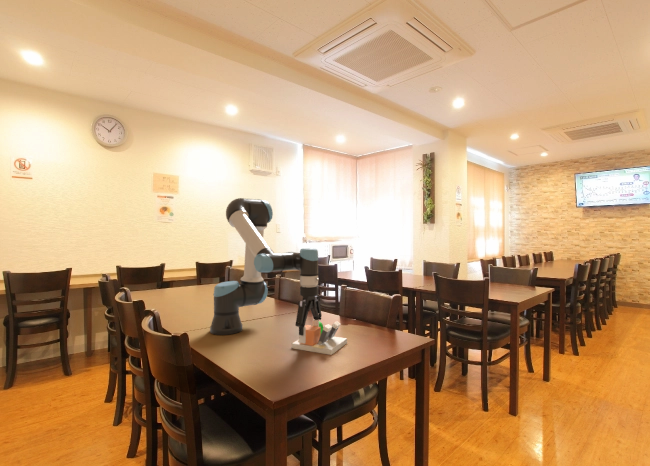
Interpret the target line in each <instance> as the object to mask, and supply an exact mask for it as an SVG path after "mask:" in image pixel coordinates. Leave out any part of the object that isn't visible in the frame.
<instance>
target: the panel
mask: <svg viewBox="0 0 650 466" xmlns="http://www.w3.org/2000/svg"><path fill="white" fill-rule="evenodd" d="M347 344H348V338H347V337H341V336H334V337H333V338H331V339H329V340H327V341H326V342H325V343H323V344H321V345H319V344H318V343H317V344H315V345H314V346H311V345H306V344H301V343H299V339H296V340H295V341H293V342H292V343H291V349H295V350H299V351H300V350H301V351H307V352H311V353H317V354H324V355H329V356H330V355H331V356H332V355H333V354H335V353H336V352H337V351H339V350H340V349H341V348H342V347H344V346H345V345H347Z"/></svg>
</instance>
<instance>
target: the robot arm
mask: <svg viewBox="0 0 650 466" xmlns="http://www.w3.org/2000/svg"><path fill="white" fill-rule="evenodd" d="M273 215H274V214H273V208H272V206H271V204H270V203H269V202H268V201H267V200H264V199H259V198H257V199H256V198H255V199H254V198H244V197H243V198H242V197H239V198H235V199H233V200H232V201H230V202H229V203H228V205H227V207H226V210H225V217H226V220H227V223H229V225H230V226H231V227H233V228H235V230H236V231H237V233H238V234H239V236H240V237H241V239H242V240H243V241H244V243H245V250H244V252H245V253H244V264H243V265H244V267H243V268H244V269H243V276H241V277H240V279H239V281H240V282H239V281H238V280H230V281H228V280H227V281H222V282H220V283H217V284H216V285H215V286H214V289H213V317H212V321H211V325H210V328H209V332H210V334H212V335H215V336H216V335H217V336H226V335H234V334H237V333H240V332H242V331H243V322H242V320H241V317H240V309H239V308H243V307H246V306H256V305H259V304H262V303H264V302H265V301H266V299H267V296H268V292H269V290H268V289H269V288H268V287H267V286H268V285H267V283H266V282H265V281H264V280H265V279H264V278H263V276H262V273H265V274H266V273H272V272H283V271H285V272H286V271H299V286H300V287H299V295H300V296H301V297H302V300H298V302H297V303H298V304H297V305H298V306H297V312H296V313H297V314H296V319H295V323H294V324H295V327H298V340H299V343H304V344H305V343H306V327H304V326H306V323H307V322H306V321H307V318H308V315H309V312H311V315H312V317H313V319H312V325H313V326H317V327H319V321H321V320H322V315H323V314H322V311H321V310H322V309H321V305H320V295H319V286H318V285H319V280H320V279H319V259H320V258H319V250H318V249H317V248H311V247H310V248H301V249H300V251H299V252H294V251H288V252H274V251H273V249H272V248H271V247H270V246H269V244H268V242H266V240H265V239H264V234H265V233H264V230H265V229H266V228H267V227H268V223H270V222H272V219H273Z"/></svg>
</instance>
